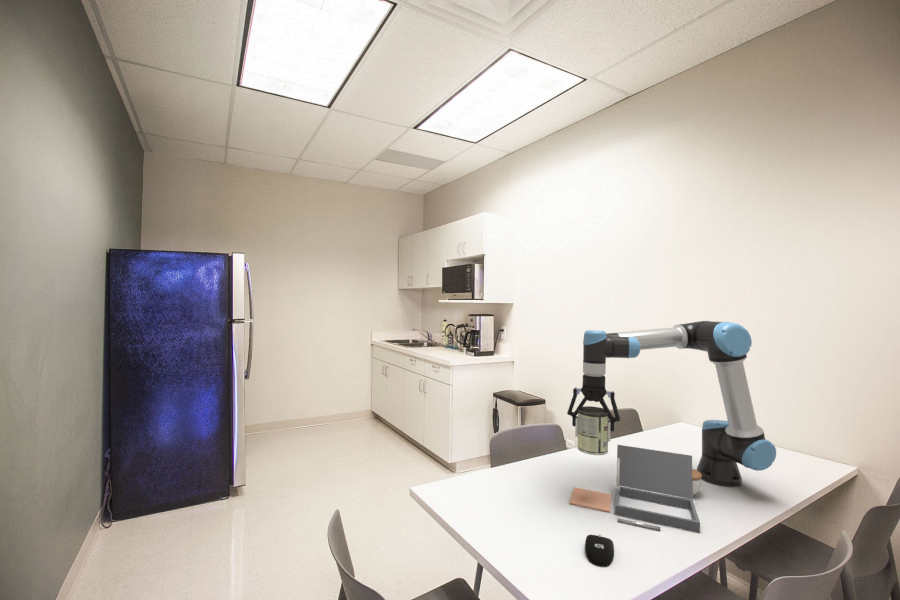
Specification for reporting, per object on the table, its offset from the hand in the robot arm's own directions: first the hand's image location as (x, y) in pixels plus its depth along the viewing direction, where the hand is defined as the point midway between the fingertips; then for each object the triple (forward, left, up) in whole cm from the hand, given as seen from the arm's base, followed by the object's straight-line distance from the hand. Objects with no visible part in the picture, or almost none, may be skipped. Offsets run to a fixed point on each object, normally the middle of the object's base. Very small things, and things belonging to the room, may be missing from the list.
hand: (592, 437), depth 143 cm
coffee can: (0, 0, -4) cm, 4 cm away
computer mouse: (-5, +31, -22) cm, 39 cm away
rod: (-15, +11, -22) cm, 29 cm away
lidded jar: (-31, -22, -22) cm, 44 cm away
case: (-20, -3, -22) cm, 30 cm away
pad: (0, 0, -22) cm, 22 cm away
